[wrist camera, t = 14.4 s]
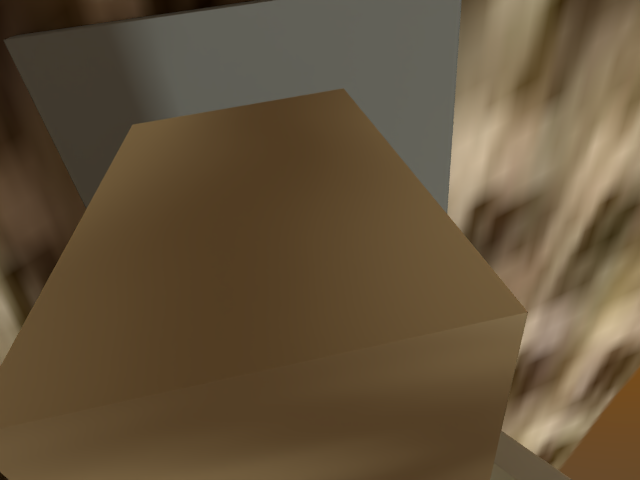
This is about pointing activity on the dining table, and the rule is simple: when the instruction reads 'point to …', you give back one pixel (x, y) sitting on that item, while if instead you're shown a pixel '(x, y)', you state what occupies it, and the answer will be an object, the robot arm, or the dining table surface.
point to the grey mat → (249, 73)
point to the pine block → (262, 314)
